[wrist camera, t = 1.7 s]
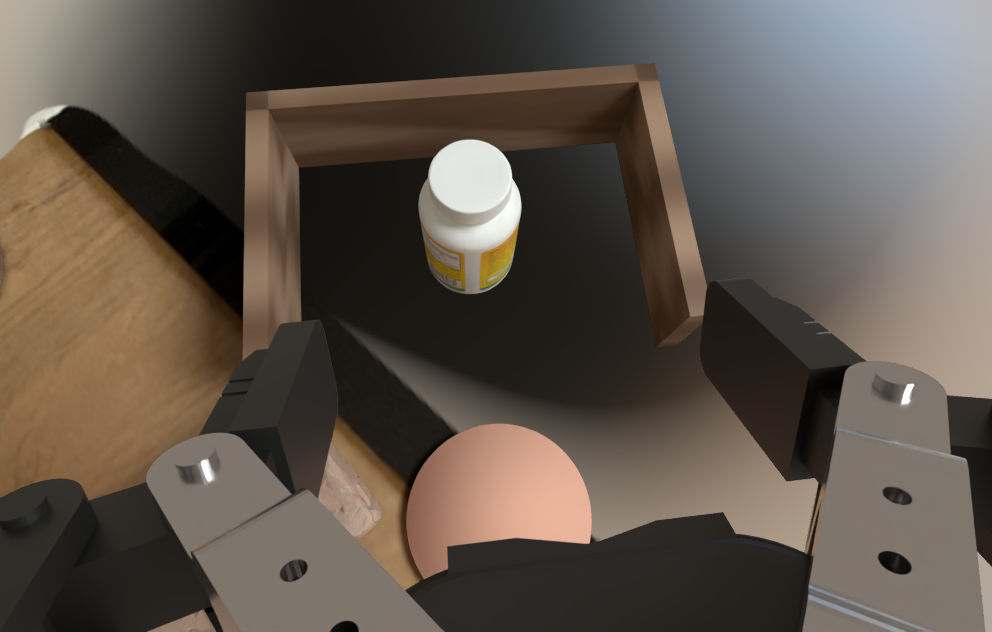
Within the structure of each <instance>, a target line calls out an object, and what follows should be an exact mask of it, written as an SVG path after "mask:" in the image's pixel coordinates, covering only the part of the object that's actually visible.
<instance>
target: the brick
mask: <svg viewBox="0 0 992 632" xmlns="http://www.w3.org/2000/svg"><path fill="white" fill-rule="evenodd" d="M318 500H319V501H320V502H321V503H322V504H323V505H324V506H325V507H326V508H327V509H328V510H329V511H330V512H331V513H332V514H333V516H334V517H335V518H336V519H337V520H338V521H339V522H340V523H341V524H342V525H343V526H344V527H345V528H346V529H347V530H348V531H349V532H350V533H351V534H352V536H353V537H354V538H355V539H356V540H357V541H358V540H359V539H361V538H362V537H363V536H364V535H366V534H367V533H368V532H369V531H371V530H372V529H373V528H374V527H375V525H376V524H377V523H378V522H379V521H380V519H381V517H382V515H381V509H380V507H379V505H378V503H377V500H376V499H375V498H374V497H373V495H372V494H371V492H370V491H369V489H368V488H367V487H366V485H365V484H364V483H363V481H361V479H360V478H359V476H358V475H357V474H356V473H355V472H354V471H353V470H352V468H351V467H350V466H349V465H348V463H347V462H346V461H345V460H344V458H343V457H342V455H341V454H340V453H339V452H338V450H337V449H336V447H335V446H334V444H333V443H332V442H331V444H330V448H329V453H328V457H327V461H326V466H325V470H324V474H323V479H322V483H321V487H320V492H319V496H318ZM148 632H213V630H212V628H211V626H210V625H209V623H208V621H207V619H206V617H205V616H204V614H203V612H202V610H201V611H198V612H196V613H193V614H191V615H188V616H186V617H183V618H181V619H178V620H176V621H173V622H171V623H168V624H165V625H163V626H160V627H158V628H155V629H153V630H150V631H148Z"/></svg>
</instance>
